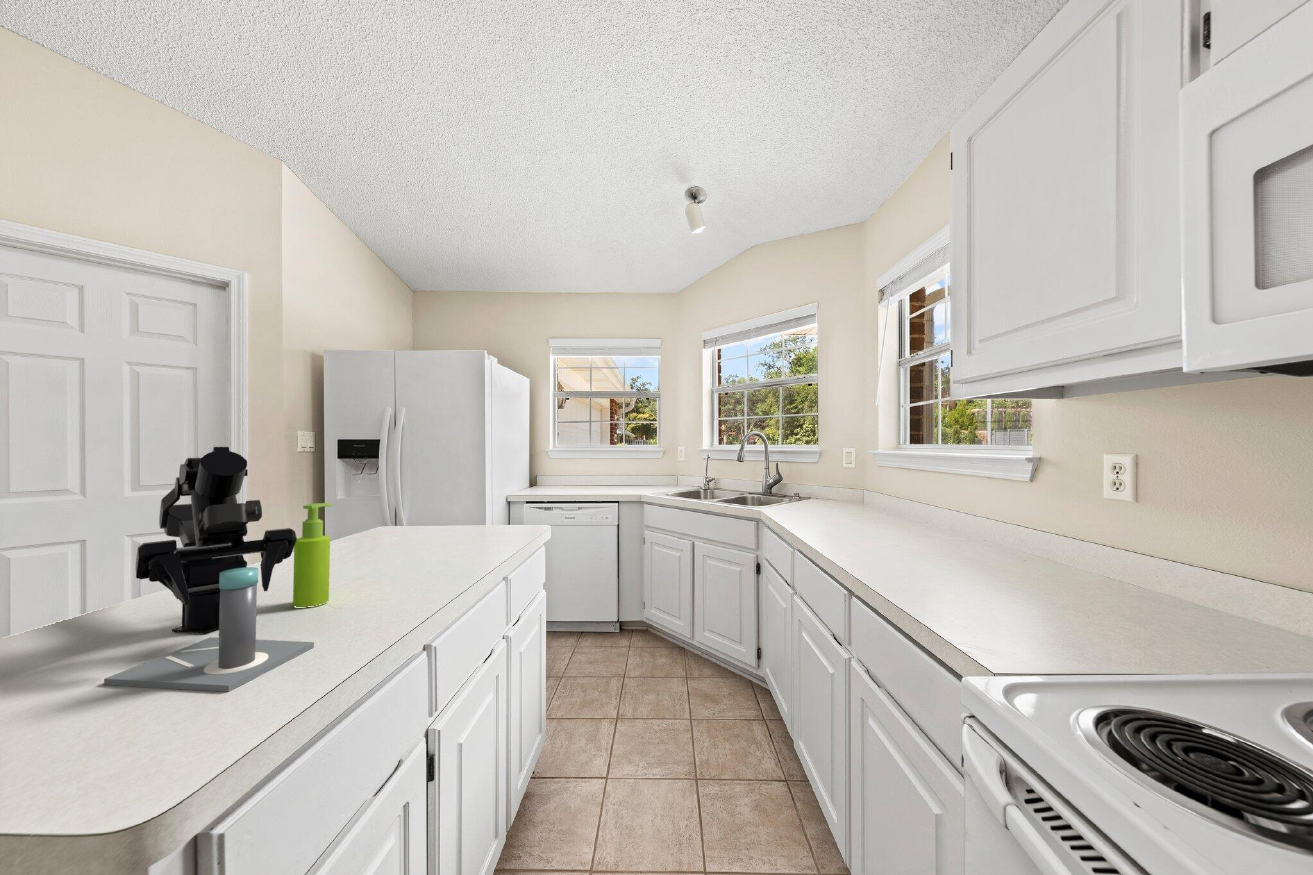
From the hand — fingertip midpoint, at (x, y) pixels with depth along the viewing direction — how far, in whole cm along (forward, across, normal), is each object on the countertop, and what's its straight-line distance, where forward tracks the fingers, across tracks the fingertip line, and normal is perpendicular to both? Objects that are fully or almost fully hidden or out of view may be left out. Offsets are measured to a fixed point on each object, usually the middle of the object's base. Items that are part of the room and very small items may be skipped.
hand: (228, 596), depth 74 cm
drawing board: (+9, -2, +4) cm, 10 cm away
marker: (+11, 0, 0) cm, 11 cm away
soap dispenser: (-7, +16, +20) cm, 26 cm away
